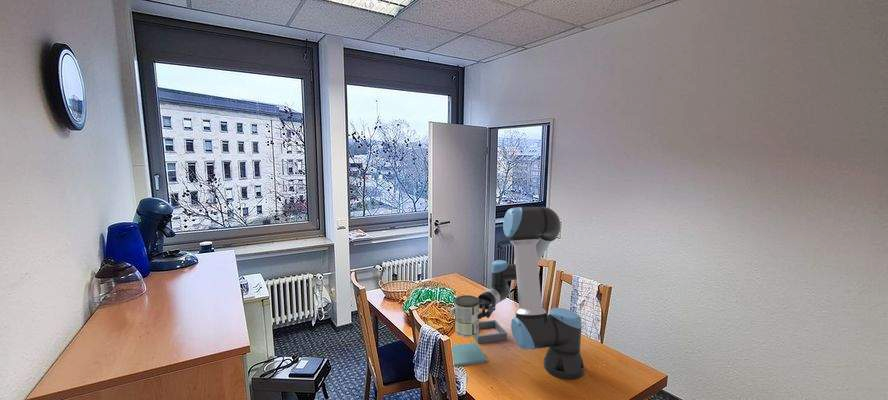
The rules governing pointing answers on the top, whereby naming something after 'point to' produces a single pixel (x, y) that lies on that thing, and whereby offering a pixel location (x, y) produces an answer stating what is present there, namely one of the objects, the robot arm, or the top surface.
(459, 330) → the coffee can
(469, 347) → the board
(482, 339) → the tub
